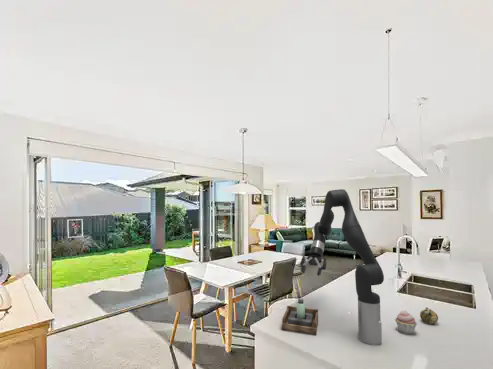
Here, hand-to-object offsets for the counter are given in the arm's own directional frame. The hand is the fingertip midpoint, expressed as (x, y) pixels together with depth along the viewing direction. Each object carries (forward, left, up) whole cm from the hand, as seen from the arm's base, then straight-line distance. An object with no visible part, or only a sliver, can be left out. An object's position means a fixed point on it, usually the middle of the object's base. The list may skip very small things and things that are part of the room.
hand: (310, 273), depth 150 cm
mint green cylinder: (+4, +16, -21) cm, 27 cm away
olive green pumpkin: (-59, -10, -22) cm, 64 cm away
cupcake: (-45, +5, -22) cm, 51 cm away
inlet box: (+4, +16, -22) cm, 27 cm away
